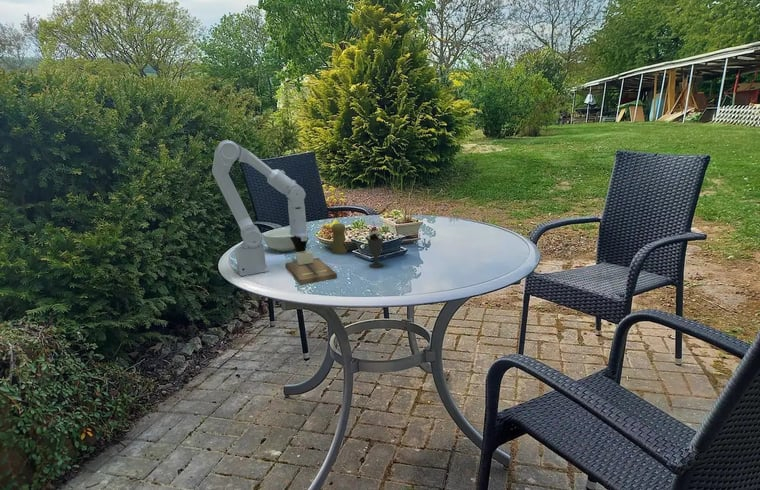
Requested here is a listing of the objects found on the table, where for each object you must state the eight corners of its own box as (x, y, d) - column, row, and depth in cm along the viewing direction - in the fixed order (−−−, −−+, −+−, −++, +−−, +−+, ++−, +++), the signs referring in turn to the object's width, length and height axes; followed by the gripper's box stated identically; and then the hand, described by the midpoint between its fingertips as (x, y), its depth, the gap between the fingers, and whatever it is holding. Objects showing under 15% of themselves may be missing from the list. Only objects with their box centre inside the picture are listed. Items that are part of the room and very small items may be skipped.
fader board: (300, 284, 139) (300, 279, 138) (285, 267, 156) (285, 262, 156) (337, 278, 143) (336, 273, 143) (318, 261, 161) (318, 257, 160)
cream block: (299, 265, 152) (298, 254, 151) (296, 262, 155) (295, 252, 154) (313, 262, 154) (312, 252, 153) (310, 260, 157) (309, 249, 156)
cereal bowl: (311, 242, 187) (309, 226, 185) (303, 254, 171) (301, 236, 169) (271, 243, 188) (269, 227, 186) (259, 255, 172) (257, 237, 170)
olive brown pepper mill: (345, 254, 169) (343, 225, 166) (330, 253, 170) (328, 225, 167) (349, 249, 174) (347, 222, 172) (334, 249, 176) (332, 222, 173)
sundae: (376, 261, 159) (374, 220, 154) (389, 265, 154) (388, 222, 150) (362, 266, 154) (360, 223, 150) (376, 270, 149) (374, 226, 145)
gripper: (314, 221, 150) (317, 259, 154) (303, 214, 163) (306, 249, 167) (294, 223, 148) (297, 263, 151) (283, 216, 160) (287, 252, 164)
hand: (300, 256), depth 159 cm, fingers closed
